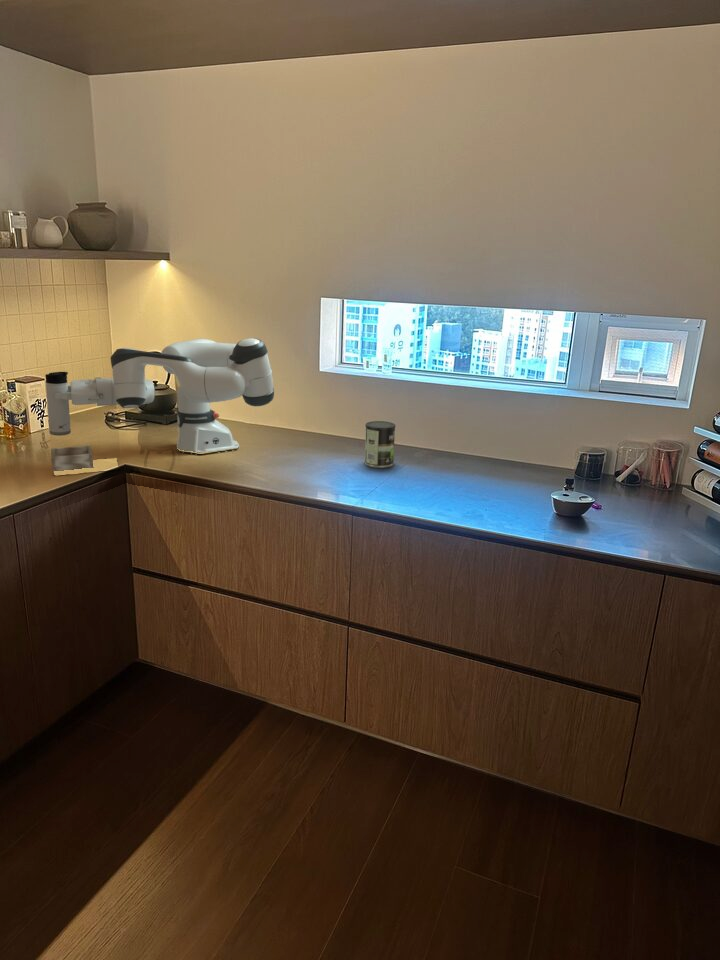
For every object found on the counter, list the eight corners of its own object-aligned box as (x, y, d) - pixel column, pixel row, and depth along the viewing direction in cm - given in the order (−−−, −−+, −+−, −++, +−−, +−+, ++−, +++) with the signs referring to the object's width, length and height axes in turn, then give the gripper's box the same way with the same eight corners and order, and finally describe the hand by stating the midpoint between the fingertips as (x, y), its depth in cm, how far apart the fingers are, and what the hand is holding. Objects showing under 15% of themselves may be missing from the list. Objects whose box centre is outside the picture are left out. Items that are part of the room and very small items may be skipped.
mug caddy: (117, 460, 230) (115, 443, 228) (120, 470, 220) (118, 452, 218) (53, 465, 222) (51, 448, 220) (53, 476, 212) (51, 458, 210)
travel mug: (66, 436, 214) (61, 374, 208) (45, 434, 214) (41, 372, 208) (75, 431, 220) (71, 370, 213) (55, 429, 220) (51, 368, 214)
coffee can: (395, 460, 239) (397, 421, 235) (391, 469, 229) (392, 428, 225) (367, 458, 241) (368, 419, 236) (361, 466, 231) (362, 426, 227)
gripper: (104, 409, 210) (55, 410, 205) (100, 394, 228) (56, 395, 222) (103, 389, 208) (54, 389, 203) (99, 376, 226) (54, 376, 220)
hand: (55, 392), depth 213 cm, fingers closed on travel mug, 6 cm apart
